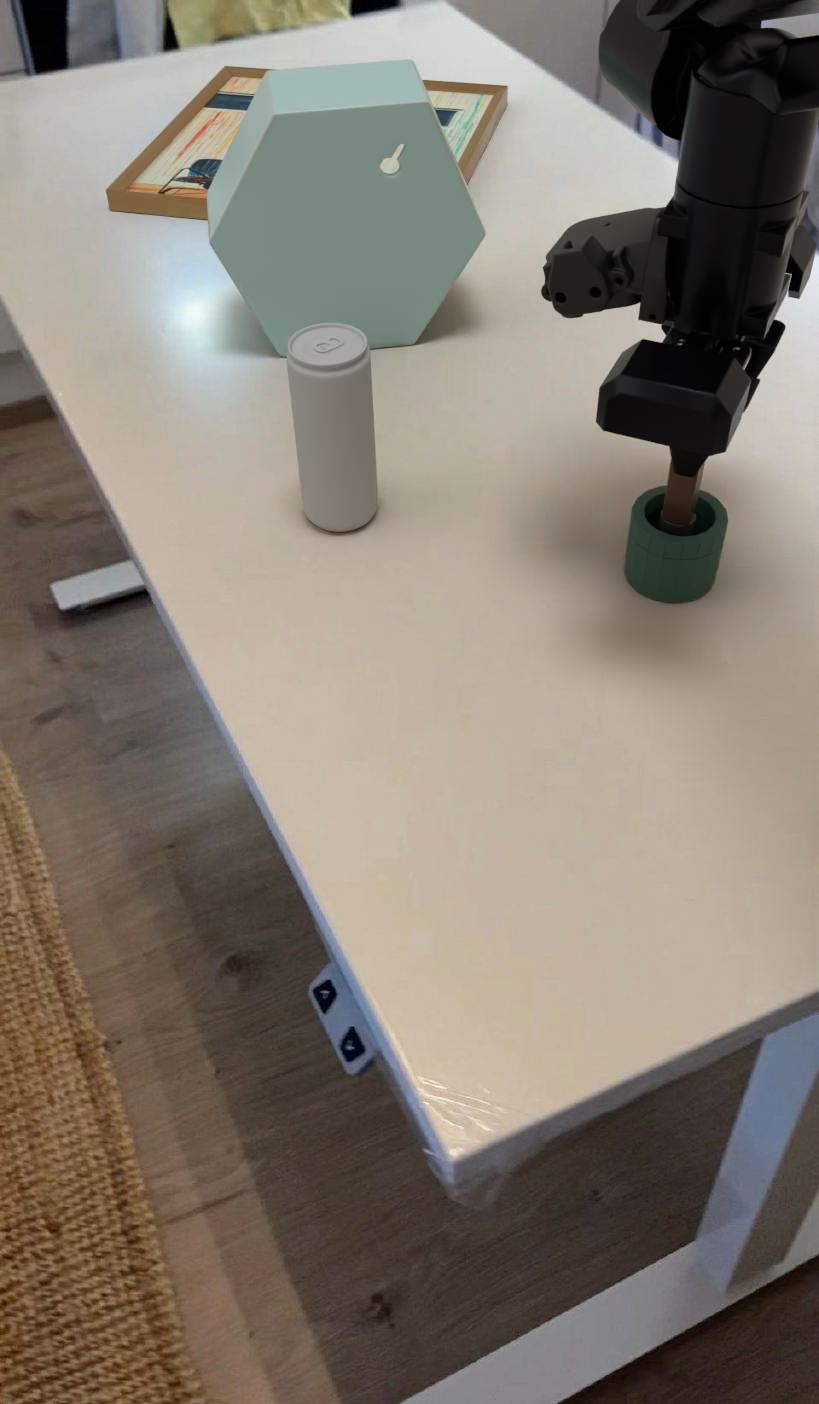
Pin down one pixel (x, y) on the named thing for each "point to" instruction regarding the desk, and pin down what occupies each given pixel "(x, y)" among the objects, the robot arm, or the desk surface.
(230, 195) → the mint green hexagonal prism
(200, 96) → the picture frame
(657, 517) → the green round lever base
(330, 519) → the beverage can
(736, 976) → the desk surface
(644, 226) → the robot arm
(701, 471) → the brown lever handle
